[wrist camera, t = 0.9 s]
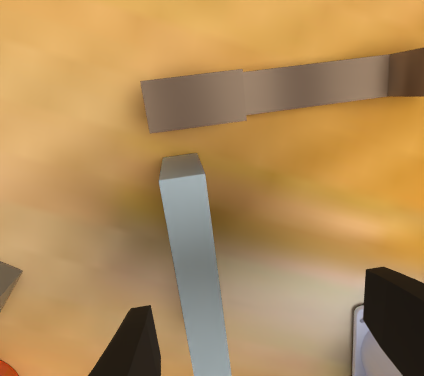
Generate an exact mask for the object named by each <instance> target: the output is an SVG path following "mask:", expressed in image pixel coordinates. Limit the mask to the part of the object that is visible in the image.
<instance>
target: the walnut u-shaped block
mask: <svg viewBox="0 0 424 376" xmlns="http://www.w3.org/2000/svg"><path fill="white" fill-rule="evenodd" d="M140 82H141V88H142V93H143V99H144V104H145V110H146V115H147V121H148V126H149V132H150V133H157V132H165V131H172V130H180V129H187V128H195V127H202V126H210V125H217V124H224V123H232V122H239V121H247V119H246V115H251V114H259V113H266V112H274V111H282V110H289V109H297V108H304V107H312V106H319V105H327V104H334V103H342V102H349V101H357V100H364V99H372V98H379V97H387V96H424V48H420V49H415V50H410V51H405V52H400V53H395V54H389V55H381V56H373V57H364V58H356V59H348V60H340V61H331V62H323V63H315V64H307V65H298V66H290V67H282V68H274V69H265V70H257V71H249V72H243V70H242V69H238V70H230V71H222V72H213V73H205V74H197V75H188V76H180V77H172V78H164V79H155V80H147V81H140Z"/></svg>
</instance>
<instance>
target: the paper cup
mask: <svg viewBox="0 0 424 376" xmlns="http://www.w3.org/2000/svg"><path fill="white" fill-rule="evenodd" d="M0 376H18V374H17V373H16V371H15V370H14V369H13V368H12V367H11V366H9V365H8V364H7V363H5V362H3V361H1V360H0Z"/></svg>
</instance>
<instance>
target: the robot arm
mask: <svg viewBox="0 0 424 376" xmlns="http://www.w3.org/2000/svg"><path fill="white" fill-rule="evenodd" d="M362 317H363V318H362ZM361 318H362V319H361ZM88 376H161V355H160V350H159V345H158V340H157V335H156V330H155V325H154V320H153V315H152V310H151V305H149V306H143V307H137V308H131V309H130V311H129V312H128V313H127V315H126V317H125V319H124V320H123V322H122V324H121V325H120V327H119V329H118V330H117V332H116V334H115V335H114V337H113V339H112V340H111V342H110V343H109V345H108V347H107V348H106V350H105V351H104V353H103V354H102V356H101V357H100V359H99V360H98V362H97V363H96V365H95V366H94V368H93V369H92V371H91V372H90V374H89V375H88ZM352 376H424V283H422V282H420V281H417V280H415V279H413V278H410V277H408V276H406V275H403V274H401V273H398V272H396V271H393V270H391V269H388V268H385V267H379V268H372V269H366V277H365V294H364V305H362V306H359V307H357V308H356V309H355V311H354V334H353V364H352Z"/></svg>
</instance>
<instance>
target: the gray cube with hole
mask: <svg viewBox="0 0 424 376" xmlns="http://www.w3.org/2000/svg"><path fill="white" fill-rule="evenodd" d="M21 273H22V270H20V269H18V268H15V267H13V266H10V265H8V264H6V263H3V262H1V261H0V312H1V310H2V308H3V306H4V304H5V303H6V301H7V299H8V297H9V295H10V293H11V292H12V290H13V288H14V286H15V284H16V282H17V281H18V279H19V277H20V275H21Z"/></svg>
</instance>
